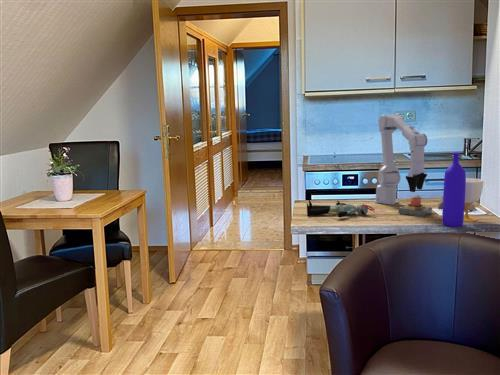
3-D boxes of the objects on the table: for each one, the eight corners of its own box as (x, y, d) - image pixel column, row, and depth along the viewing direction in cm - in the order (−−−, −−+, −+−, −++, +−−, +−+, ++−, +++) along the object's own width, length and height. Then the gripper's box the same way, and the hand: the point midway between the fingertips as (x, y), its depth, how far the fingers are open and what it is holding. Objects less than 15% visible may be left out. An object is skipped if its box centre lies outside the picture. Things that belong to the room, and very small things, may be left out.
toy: (310, 195, 250) (373, 193, 243) (311, 210, 251) (374, 209, 245) (304, 206, 226) (374, 204, 219) (305, 223, 227) (375, 221, 220)
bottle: (456, 228, 206) (459, 154, 201) (437, 224, 212) (440, 152, 207) (467, 225, 211) (471, 152, 205) (449, 221, 217) (452, 151, 212)
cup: (455, 222, 216) (457, 182, 213) (448, 215, 228) (450, 177, 225) (484, 222, 215) (487, 182, 212) (476, 216, 226) (478, 177, 223)
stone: (475, 221, 241) (473, 203, 246) (478, 209, 233) (476, 191, 238) (437, 219, 245) (436, 202, 250) (439, 208, 237) (438, 190, 242)
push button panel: (398, 213, 234) (398, 205, 233) (406, 209, 241) (406, 202, 240) (424, 216, 226) (424, 208, 226) (431, 213, 233) (432, 205, 233)
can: (408, 208, 233) (409, 195, 232) (413, 206, 236) (413, 193, 235) (417, 209, 230) (418, 196, 229) (422, 207, 233) (422, 194, 232)
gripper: (419, 163, 223) (418, 193, 225) (432, 159, 234) (430, 189, 236) (403, 162, 227) (402, 192, 230) (417, 158, 238) (415, 187, 241)
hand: (416, 190), depth 233 cm, fingers open, 7 cm apart
